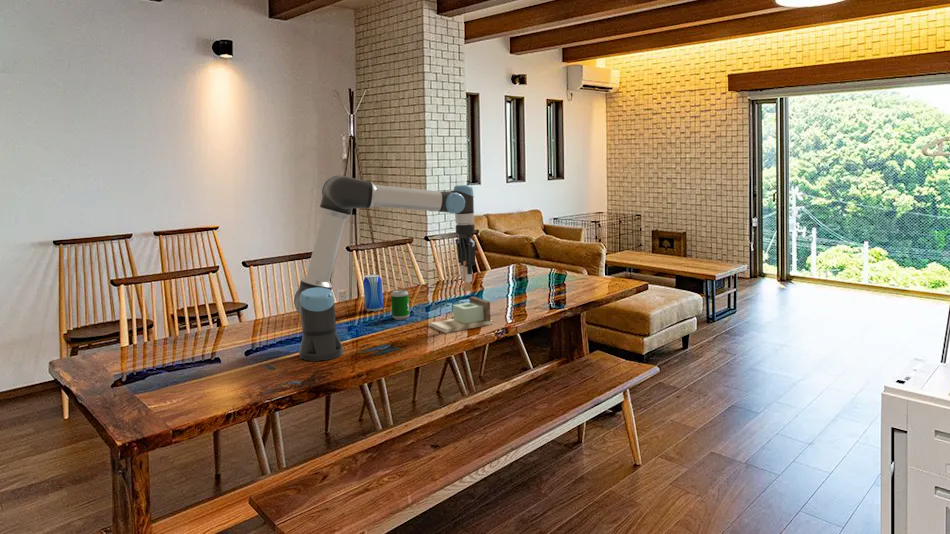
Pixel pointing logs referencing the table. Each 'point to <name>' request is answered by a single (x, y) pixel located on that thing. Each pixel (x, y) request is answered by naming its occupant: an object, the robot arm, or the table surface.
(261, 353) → the table surface
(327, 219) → the robot arm
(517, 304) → the table surface
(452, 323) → the beige l-shaped bracket
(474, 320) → the block
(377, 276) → the beer can
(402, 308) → the soda can
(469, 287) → the dowel
